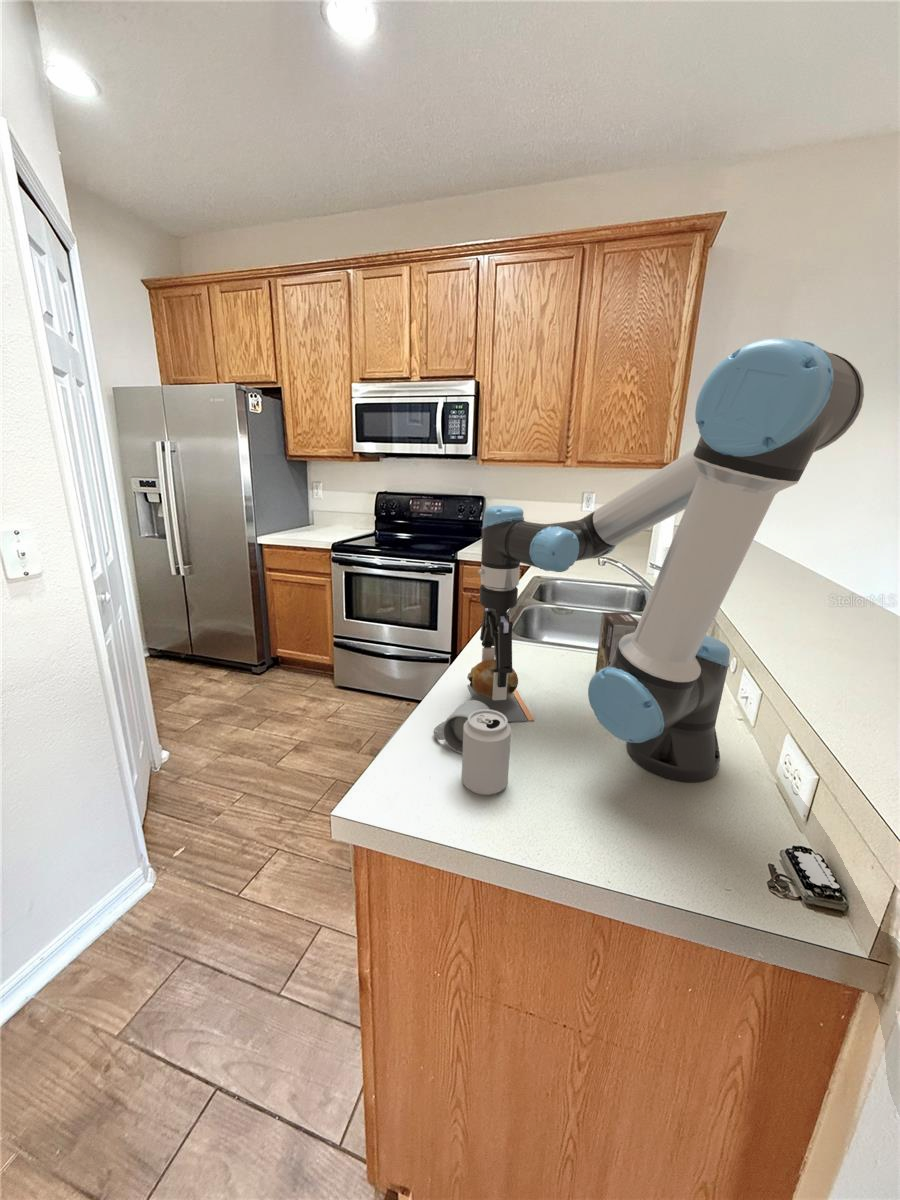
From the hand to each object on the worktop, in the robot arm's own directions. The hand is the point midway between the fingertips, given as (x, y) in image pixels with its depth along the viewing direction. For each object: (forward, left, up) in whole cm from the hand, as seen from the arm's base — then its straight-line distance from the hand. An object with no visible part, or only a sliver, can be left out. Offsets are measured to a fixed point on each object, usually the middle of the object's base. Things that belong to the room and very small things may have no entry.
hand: (493, 686), depth 102 cm
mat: (0, -1, -4) cm, 4 cm away
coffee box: (+6, -31, -4) cm, 31 cm away
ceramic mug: (-13, +9, -4) cm, 16 cm away
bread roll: (0, 0, -1) cm, 1 cm away
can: (-25, +7, -4) cm, 27 cm away
